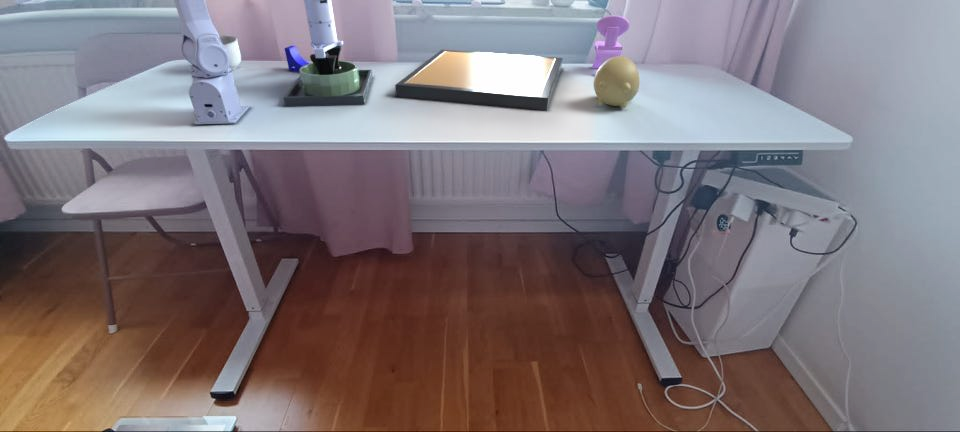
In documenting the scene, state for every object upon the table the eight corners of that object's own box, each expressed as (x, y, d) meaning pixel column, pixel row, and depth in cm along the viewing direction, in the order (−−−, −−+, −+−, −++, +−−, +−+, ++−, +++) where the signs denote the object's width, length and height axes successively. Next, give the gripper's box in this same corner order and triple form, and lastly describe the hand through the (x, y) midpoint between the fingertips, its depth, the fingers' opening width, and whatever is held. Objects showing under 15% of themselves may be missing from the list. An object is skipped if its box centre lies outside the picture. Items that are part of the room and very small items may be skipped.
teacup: (252, 65, 129) (244, 35, 125) (231, 76, 120) (221, 44, 116) (205, 63, 131) (196, 33, 126) (180, 74, 121) (170, 42, 117)
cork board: (442, 59, 137) (396, 96, 108) (441, 49, 135) (395, 84, 106) (561, 68, 130) (546, 110, 101) (562, 58, 128) (547, 98, 99)
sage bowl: (357, 98, 106) (354, 75, 103) (298, 100, 105) (293, 76, 102) (363, 81, 117) (360, 59, 114) (310, 83, 116) (305, 60, 113)
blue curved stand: (337, 70, 126) (333, 47, 123) (327, 75, 122) (323, 51, 119) (299, 66, 129) (294, 44, 125) (289, 70, 125) (284, 48, 122)
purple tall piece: (617, 68, 131) (627, 11, 123) (622, 77, 123) (632, 17, 115) (587, 67, 131) (595, 10, 123) (590, 75, 124) (599, 16, 116)
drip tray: (364, 104, 103) (363, 95, 102) (285, 106, 102) (283, 97, 100) (372, 77, 121) (371, 69, 120) (305, 78, 119) (303, 70, 118)
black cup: (342, 91, 109) (339, 70, 106) (318, 92, 108) (314, 70, 106) (345, 84, 114) (342, 63, 111) (322, 84, 113) (318, 64, 110)
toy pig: (631, 121, 106) (641, 81, 108) (636, 94, 95) (648, 50, 97) (588, 114, 109) (600, 75, 111) (588, 86, 97) (601, 43, 100)
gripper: (334, 27, 97) (344, 90, 104) (343, 15, 109) (352, 72, 116) (299, 27, 96) (312, 91, 104) (313, 15, 108) (323, 73, 116)
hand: (331, 81), depth 110 cm, fingers closed on black cup, 5 cm apart
